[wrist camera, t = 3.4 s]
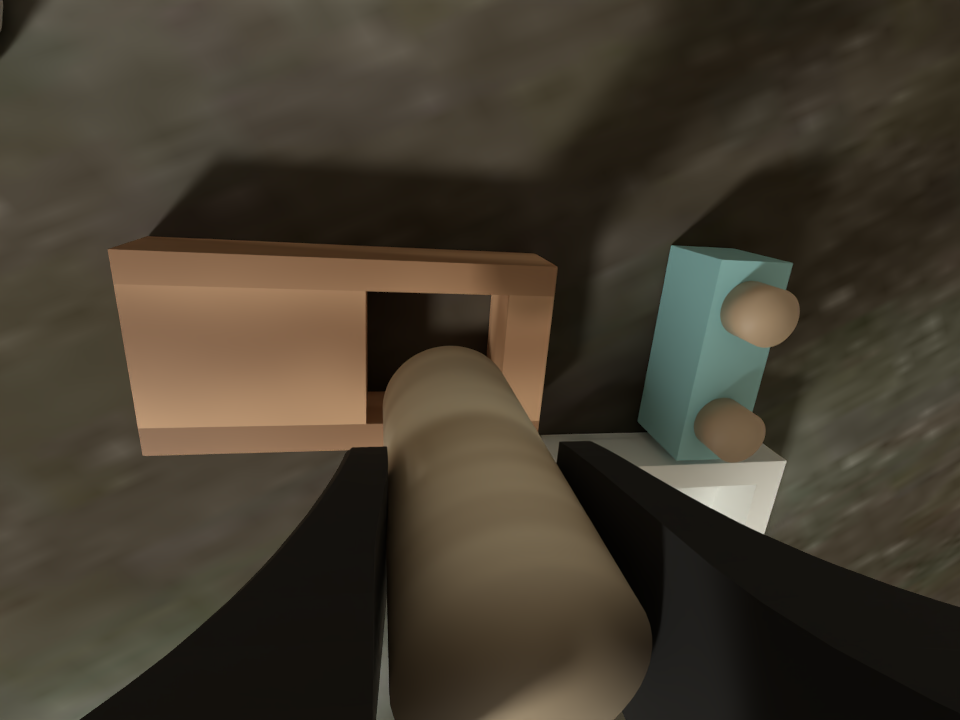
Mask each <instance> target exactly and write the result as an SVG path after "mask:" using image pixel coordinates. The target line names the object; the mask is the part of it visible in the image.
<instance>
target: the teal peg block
mask: <svg viewBox="0 0 960 720" xmlns="http://www.w3.org/2000/svg"><path fill="white" fill-rule="evenodd" d="M792 266H793V263H791V262H787V261H783V260H779V259H775V258H771V257H766V256H762V255H758V254H754V253H750V252H746V251H742V250H738V249H734V248H715V247H695V246H675V245H671V249H670V254H669V259H668V265H667V270H666V275H665V280H664V286H663V291H662V296H661V301H660V306H659V312H658V317H657V322H656V327H655V332H654V338H653V343H652V348H651V353H650V358H649V364H648V369H647V374H646V379H645V384H644V390H643V395H642V400H641V405H640V410H639V416H638V421H637V422H638V423H639V424H640V425H641V426H642V427H643V428H644V429H645V430H646V431H647V432H648V433H649V434H650V435H651V436H652V437H653V438H654V439H655V440H656V441H657V442H658V443H659V444H660V445H661V446H662V447H663V448H664V449H665V450H666V451H667V452H668V453H669V454H670V455H671V456H672V457H673V458H674V459H675V460H676V461H681V460H709V459H722V460H723V461H726V462H730V463H735V462H740V461H743V460H746V459H747V458H749V457H751V456H752V455H753V454H754V453H755V452H756V451H757V450H758V449H759V448H760V446H761V445H762V443H763V441H764V438H765V432H766V430H765V425H764V422H763V421H762V419H761V418H760V417H758V416H757V415H755V414H754V413H753V408H754V405H755V401H756V397H757V394H758V390H759V386H760V383H761V379H762V375H763V372H764V368H765V364H766V361H767V357H768V353H769V350H770V347H773V346H776V345H778V344H780V343H781V342H783V341H784V340H785V339H787V338H788V337H789V336H790V334H791V333H792V332H793V330H794V329H795V327H796V325H797V323H798V320H799V315H800V307H799V303H798V300H797V298H796V297H795V296H794V295H793V294H792V293H791V292H789V291H787V290H786V288H787V284H788V280H789V277H790V273H791V269H792Z"/></svg>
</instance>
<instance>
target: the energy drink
mask: <svg viewBox="0 0 960 720" xmlns="http://www.w3.org/2000/svg"><path fill="white" fill-rule="evenodd" d="M2 16H3V0H0V31H1V28H2Z"/></svg>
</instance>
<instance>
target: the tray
mask: <svg viewBox="0 0 960 720" xmlns="http://www.w3.org/2000/svg"><path fill="white" fill-rule="evenodd" d="M540 437H541V439H542V440H543V442H544V444H545V445H546V447H547V449H548V450H549V452H550V454H551V455H552V457H553V459H554V460H555V462H557V455H558V448H559V442H561V441H592V442H594V443H596V444H598V445H600V446H602V447H604V448H606V449H608V450H610V451H612V452H613V453H615V454H617V455H619V456H620V457H622V458H624V459H626V460H627V461H629V462H631V463H632V464H634V465H636V466H638V467H639V468H641V469H643V470H644V471H646V472H648V473H649V474H651V475H653V476H655V477H656V478H658V479H660V480H661V481H663V482H665V483H667V484H668V485H670V486H672V487H674V488H675V489H677V490H679V491H681V492H682V493H684V494H686V495H688V496H690V497H691V498H693V499H695V500H697V501H699V502H700V503H702V504H704V505H706V506H708V507H710V508H712V509H714V510H716V511H718V512H720V513H721V514H723V515H725V516H727V517H729V518H731V519H733V520H735V521H737V522H739V523H741V524H743V525H745V526H747V527H749V528H751V529H753V530H755V531H758V532H760V533H762V534H764V533H765V529H766V526H767V523H768V520H769V517H770V513H771V510H772V507H773V504H774V500H775V497H776V494H777V491H778V487H779V484H780V481H781V478H782V474H783V471H784V468H785V465H786V462H787V461H786V460H785V459H783V458H782V457H781V456H779V455H778V454H777V453H775V452H774V451H773V450H771V449H770V448H768V447H767V446H766V445H764V444H763V443H762V445H761V446H760V448H759V449H758V450H757V451H756V452H755V453H754V454H753V455H752V456H751V457H749V458H747V459H746V460H743V461H740V462H735V463H730V462H726V461H723V460H722V459H709V460H681V461H676V460H675V459H674V458H673V457H672V456H671V455H670V454H669V453H668V452H667V451H666V450H665V449H664V448H663V447H662V446H661V445H660V444H659V443H658V442H657V441H656V440H655V439H654V438H653V437H652V436H651V435H650V434H649V433H648V432H639V433H599V434H558V435H540Z"/></svg>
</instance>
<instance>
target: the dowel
mask: <svg viewBox="0 0 960 720" xmlns="http://www.w3.org/2000/svg"><path fill="white" fill-rule="evenodd" d="M383 440H384V446H387V452H388V518H387V533H386V571H387V615H388V658H389V695H390V706H391V709H392V713H393V716H394V719H395V720H614V719H615V718H616V717H617V716H618V715H619V714H620V712H621V711H622V710H623V709H624V708H625V707H626V706H627V704H628V703H629V702H630V701H631V699H632V698H633V697H634V695H635V694H636V692H637V690H638V689H639V687H640V686H641V683H642V681H643V679H644V677H645V675H646V673H647V669H648V666H649V663H650V659H651V653H652V633H651V627H650V623H649V620H648V618H647V615H646V612H645V611H644V609H643V607H642V606H641V604H640V602H639V601H638V599H637V597H636V596H635V594H634V592H633V591H632V589H631V587H630V586H629V584H628V582H627V581H626V579H625V577H624V576H623V574H622V572H621V571H620V569H619V567H618V566H617V564H616V562H615V561H614V559H613V557H612V556H611V554H610V552H609V551H608V549H607V547H606V546H605V544H604V542H603V541H602V539H601V537H600V535H599V534H598V532H597V530H596V529H595V527H594V525H593V524H592V522H591V520H590V519H589V517H588V515H587V514H586V512H585V510H584V509H583V507H582V505H581V504H580V502H579V500H578V499H577V497H576V495H575V494H574V492H573V490H572V489H571V487H570V485H569V484H568V482H567V480H566V479H565V477H564V475H563V474H562V472H561V470H560V469H559V467H558V465H557V464H556V462H555V460H554V459H553V457H552V455H551V454H550V452H549V450H548V449H547V447H546V445H545V444H544V442H543V440H542V439H541V437H540V435H539V433H538V432H537V430H536V428H535V427H534V425H533V423H532V422H531V420H530V418H529V417H528V415H527V413H526V412H525V410H524V408H523V407H522V405H521V403H520V402H519V400H518V398H517V397H516V395H515V393H514V392H513V390H512V388H511V387H510V385H509V383H508V382H507V380H506V378H505V377H504V375H503V373H502V372H501V370H500V369H499V368H498V366H497V365H496V364H495V363H494V362H493V361H492V360H491V359H489V358H488V357H486V356H485V355H483V354H482V353H480V352H478V351H475V350H472V349H469V348H466V347H461V346H440V347H435V348H431V349H428V350H425V351H423V352H420V353H418V354H416V355H415V356H413V357H411V358H410V359H409V360H407V361H406V362H405V363H404V364H402V366H401V367H400V368H399V369H398V370H397V371H396V372H395V374H394V375H393V376H392V378H391V380H390V381H389V383H388V386H387V388H386V391H385V395H384V399H383Z"/></svg>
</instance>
